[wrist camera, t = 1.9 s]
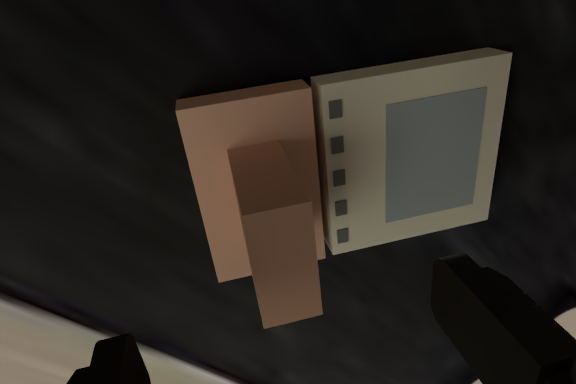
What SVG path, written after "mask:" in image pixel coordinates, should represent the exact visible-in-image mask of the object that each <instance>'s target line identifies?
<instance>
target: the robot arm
mask: <svg viewBox="0 0 576 384" xmlns="http://www.w3.org/2000/svg"><path fill="white" fill-rule="evenodd" d="M431 308H432V312H433V315H434V317H435V319H436V321H437V323H438V324H439V326H440V327H441V328H442V330H443V331H444V332H445V334H446V335H447V336H448V338H449V339H450V340H451V342H452V343H453V345H454V346H455V347H456V349H457V350H458V351H459V353H460V354H461V355H462V357H463V358H464V359H465V361H466V362H467V363H468V365H469V366H470V367H471V369H472V370H473V372H474V373H475V374H476V376H477V377H478V378H479V380H480V381H481V382H482V384H576V340H575V338H574V337H572V336H571V335H570V334H569V333H568V332H567V331H566V330H565V329H564V328H563V327H562V326H560V325H559V324H558V323H557V322H556V321H555V320H554V319H553V318H552V317H551V316H550V315H548V314H547V313H546V312H545V311H544V310H543V309H542V308H541V307H540V306H537V305H536V303H535V302H534V301H533V300H532V299H531V298H530V297H529V296H528V295H527V294H524V293H523V291H522V290H521V289H520V288H519V287H518V286H517V285H516V284H515V283H514V282H512V281H511V280H510V279H509V278H508V277H506V276H504V275H503V274H501V273H499V272H497V271H495V270H493V269H491V268H489V267H485V268H481V267H480V266H479V265H478V264H477V263H476V262H474V261H473V260H472V259H471V258H470V257H469V256H468V255H467V254H465V253H459V254H455V255H451V256H447V257H443V258H439V259H436V260H435V261H434V265H433V276H432V289H431ZM67 384H151V382H150V377H149V374H148V371H147V369H146V366H145V364H144V361H143V359H142V357H141V354H140V352H139V349H138V347H137V345H136V342H135V340H134V337H133V336H132V334H130V333H128V334H124V335H120V336H116V337H112V338H108V339H104V340H100V341H97V343H96V344H95V347H94V351H93V355H92V359H91V364H90V366H89V367H85V368H81V369H77V370H76V371H75V372H74V374H73V375H72V376H71V378H70V379H69V381H68V382H67Z"/></svg>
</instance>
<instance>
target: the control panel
mask: <svg viewBox="0 0 576 384" xmlns="http://www.w3.org/2000/svg"><path fill="white" fill-rule="evenodd" d="M511 59H512V53H511V52H507V51H503V50H498V49H494V48H490V47H487V48H481V49H475V50H469V51H463V52H457V53H451V54H445V55H439V56H433V57H427V58H421V59H415V60H409V61H403V62H397V63H391V64H385V65H379V66H373V67H367V68H361V69H355V70H349V71H343V72H337V73H331V74H325V75H319V76H313V77H310V78H311V90H312V102H313V114H314V126H315V138H316V150H317V162H318V174H319V186H320V198H321V210H322V222H323V234H324V239H325V241H326V243H327V244H328V246H329V248H330V250H331V252H332V254H333V255H335V254H340V253H344V252H348V251H353V250H357V249H361V248H366V247H370V246H375V245H379V244H383V243H388V242H392V241H396V240H401V239H405V238H410V237H414V236H418V235H423V234H427V233H431V232H436V231H440V230H444V229H449V228H453V227H458V226H462V225H466V224H471V223H475V222H479V221H484V220H488V213H489V206H490V200H491V193H492V186H493V179H494V173H495V166H496V159H497V153H498V146H499V139H500V133H501V126H502V119H503V113H504V106H505V99H506V93H507V86H508V79H509V72H510V66H511Z"/></svg>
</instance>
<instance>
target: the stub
mask: <svg viewBox="0 0 576 384" xmlns="http://www.w3.org/2000/svg"><path fill="white" fill-rule="evenodd" d="M176 115H177V119H178V123H179V127H180V131H181V135H182V139H183V143H184V147H185V151H186V155H187V159H188V163H189V167H190V170H191V174H192V178H193V182H194V186H195V190H196V194H197V198H198V202H199V206H200V210H201V214H202V218H203V222H204V226H205V230H206V234H207V238H208V242H209V246H210V250H211V254H212V258H213V262H214V266H215V270H216V274H217V278H218V282H224V281H228V280H233V279H237V278H241V277H246V276H250V275H252V276H253V281H254V286H255V290H256V295H257V299H258V304H259V309H260V313H261V318H262V322H263V327H264V329H266V328H270V327H274V326H278V325H282V324H286V323H290V322H294V321H298V320H302V319H306V318H310V317H314V316H318V315H322V314H323V313H322V303H321V292H320V282H319V272H318V261H317V260H320V259H324V258H325V246H324V234H323V222H322V210H321V198H320V186H319V174H318V162H317V150H316V139H315V127H314V115H313V103H312V91H311V87H310V86H309V85H308V84H306V83H305V82H304V81H303V80H302V79H299V80H293V81H287V82H281V83H275V84H269V85H263V86H257V87H251V88H245V89H239V90H233V91H227V92H221V93H215V94H209V95H203V96H197V97H191V98H185V99H179V100H176Z"/></svg>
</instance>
